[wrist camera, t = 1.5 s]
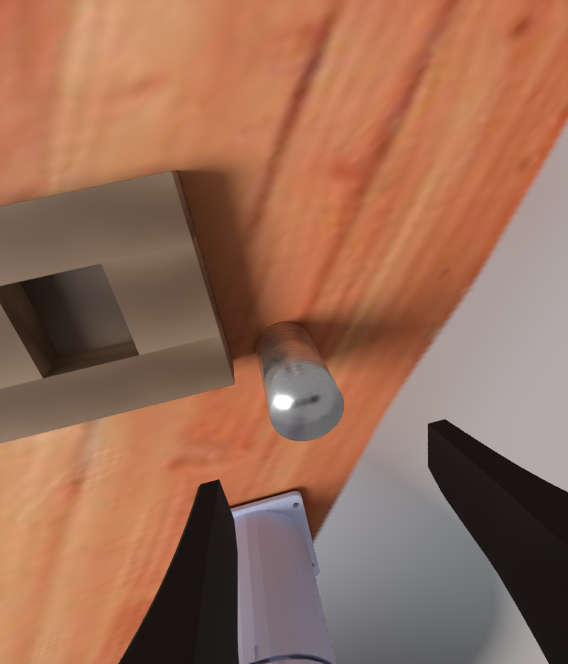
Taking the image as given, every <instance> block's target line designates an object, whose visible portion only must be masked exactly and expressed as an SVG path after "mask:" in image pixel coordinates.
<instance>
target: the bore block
mask: <svg viewBox="0 0 568 664" xmlns="http://www.w3.org/2000/svg"><path fill="white" fill-rule="evenodd" d="M231 385H235V382H234V369H233V360H232V356H231V353H230V349H229V346H228V342H227V339H226V335H225V332H224V328H223V325H222V322H221V318H220V315H219V311H218V308H217V304H216V301H215V297H214V294H213V290H212V287H211V284H210V280H209V277H208V273H207V270H206V266H205V263H204V259H203V256H202V252H201V249H200V245H199V242H198V239H197V235H196V232H195V228H194V225H193V221H192V218H191V214H190V211H189V207H188V204H187V201H186V197H185V194H184V190H183V187H182V183H181V180H180V176H179V173H178V170H177V171H169V172H164V173H159V174H155V175H150V176H145V177H140V178H135V179H131V180H126V181H121V182H116V183H111V184H106V185H102V186H97V187H92V188H87V189H82V190H77V191H73V192H68V193H63V194H58V195H53V196H49V197H44V198H39V199H34V200H29V201H24V202H20V203H15V204H10V205H5V206H0V443H4V442H8V441H12V440H16V439H20V438H24V437H28V436H32V435H36V434H40V433H44V432H48V431H52V430H56V429H60V428H64V427H68V426H72V425H76V424H80V423H84V422H88V421H92V420H96V419H100V418H104V417H108V416H111V415H115V414H119V413H123V412H127V411H131V410H135V409H139V408H143V407H147V406H151V405H155V404H159V403H163V402H167V401H171V400H175V399H179V398H183V397H187V396H191V395H195V394H199V393H203V392H207V391H211V390H215V389H219V388H223V387H227V386H231Z"/></svg>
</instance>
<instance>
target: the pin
mask: <svg viewBox="0 0 568 664" xmlns="http://www.w3.org/2000/svg"><path fill="white" fill-rule="evenodd" d="M256 352H257V357H258V362H259V367H260V371H261V376H262V381H263V386H264V390H265V395H266V400H267V405H268V409H269V414H270V419H271V422H272V425H273V427H274V428H275V430H276V431H277V432H278V433H279V434H280V435H282V436H283V437H285V438H287V439H290V440H294V441H309V440H314V439H317V438H319V437H322V436H323V435H325V434H327V433H328V432H330V431H331V430H332V429H333V428H334V427H335V426H336V425H337V424H338V422H339V421H340V419H341V417H342V414H343V410H344V400H343V397H342V394H341V392H340V391H339V389H338V387H337V385H336V383H335V381H334V380H333V378H332V376H331V374H330V372H329V370H328V369H327V367H326V365H325V363H324V361H323V359H322V358H321V356H320V354H319V352H318V350H317V348H316V347H315V345H314V343H313V341H312V339H311V337H310V336H309V334H308V332H307V331H306V330H305V329H304V328H303V327H302V326H300V325H298V324H296V323H292V322H280V323H276V324H274V325H272V326H270V327H268V328H267V329H266V330H265V331H264V332H263V333H262V334H261V335H260V337H259V339H258V341H257V346H256Z"/></svg>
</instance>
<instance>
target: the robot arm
mask: <svg viewBox="0 0 568 664" xmlns="http://www.w3.org/2000/svg"><path fill="white" fill-rule="evenodd" d="M428 467H429V469H430V471H431V473H432V475H433V477H434V479H435V481H436V482H437V484H438V486H439V488H440V490H441V492H442V493H443V495H444V497H445V498H446V500H447V501H448V502H449V504H450V505H451V507H452V508H453V510H454V511H455V512H456V514H457V515H458V517H459V518H460V520H461V521H462V522H463V524H464V525H465V527H466V528H467V530H468V531H469V532H470V534H471V535H472V537H473V538H474V540H475V541H476V542H477V544H478V545H479V547H480V548H481V549H482V551H483V552H484V553H485V555H486V556H487V558H488V559H489V561H490V562H491V564H492V565H493V567H494V569H495V570H496V571H497V573H498V574H499V576H500V578H501V580H502V581H503V583H504V585H505V587H506V588H507V590H508V592H509V593H510V595H511V597H512V598H513V600H514V601H515V604H516V605H517V607H518V609H519V611H520V612H521V614H522V616H523V618H524V619H525V621H526V623H527V625H528V626H529V628H530V630H531V632H532V634H533V635H534V637H535V639H536V641H537V642H538V644H539V646H540V648H541V650H542V652H543V654H544V655H545V657H546V659H547V661H548V663H549V664H568V492H567V491H564V490H562V489H560V488H558V487H556V486H554V485H553V484H551V483H549V482H547V481H545V480H543V479H541V478H539V477H538V476H536V475H534V474H532V473H530V472H529V471H527V470H525V469H523V468H521V467H520V466H518V465H516V464H515V463H513V462H511V461H510V460H508V459H506V458H505V457H503V456H501V455H500V454H498V453H496V452H495V451H493V450H492V449H490V448H489V447H487V446H485V445H484V444H482V443H481V442H479V441H478V440H476V439H474V438H473V437H471V436H470V435H468V434H467V433H465V432H464V431H462V430H461V429H459V428H458V427H456V426H454V425H453V424H451V423H450V422H448V421H447V420H445V419H444V420H440V421H437V422H433V423H429V424H428ZM318 573H319V568H318V563H317V559H316V555H315V551H314V546H313V542H312V538H311V534H310V530H309V525H308V521H307V517H306V513H305V509H304V504H303V500H302V496H301V493H300V492H298V491H292V492H289V493H285V494H282V495H278V496H274V497H271V498H267V499H263V500H260V501H256V502H253V503H249V504H245V505H242V506H238V507H235V508H231V509H230V507H229V504H228V502H227V499H226V496H225V494H224V491H223V488H222V486H221V483H220V480H215V481H211V482H207V483H204V484H201V485H200V486H199V487H198V490H197V494H196V497H195V500H194V503H193V506H192V509H191V512H190V515H189V518H188V521H187V523H186V526H185V529H184V531H183V534H182V536H181V539H180V542H179V544H178V547H177V549H176V552H175V554H174V556H173V559H172V561H171V563H170V566H169V568H168V570H167V572H166V574H165V577H164V579H163V581H162V583H161V586H160V588H159V590H158V592H157V594H156V596H155V598H154V600H153V602H152V604H151V606H150V608H149V610H148V612H147V614H146V616H145V617H144V619H143V621H142V623H141V625H140V627H139V629H138V630H137V632H136V634H135V636H134V638H133V639H132V641H131V643H130V645H129V646H128V648H127V650H126V652H125V653H124V655H123V657H122V658H121V660H120V662H119V663H118V664H336V662H335V658H334V654H333V650H332V646H331V642H330V637H329V633H328V629H327V625H326V621H325V616H324V612H323V608H322V604H321V599H320V596H319V591H318V587H317V583H316V578H315V576H316V575H318Z"/></svg>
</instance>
